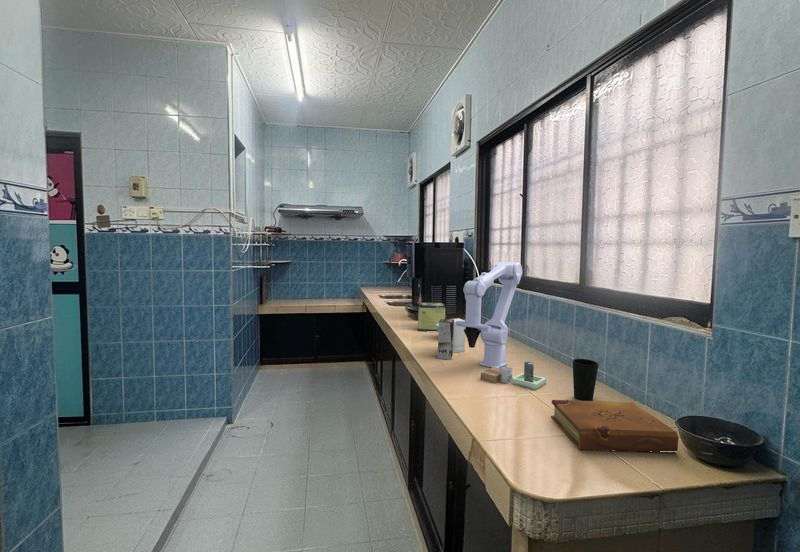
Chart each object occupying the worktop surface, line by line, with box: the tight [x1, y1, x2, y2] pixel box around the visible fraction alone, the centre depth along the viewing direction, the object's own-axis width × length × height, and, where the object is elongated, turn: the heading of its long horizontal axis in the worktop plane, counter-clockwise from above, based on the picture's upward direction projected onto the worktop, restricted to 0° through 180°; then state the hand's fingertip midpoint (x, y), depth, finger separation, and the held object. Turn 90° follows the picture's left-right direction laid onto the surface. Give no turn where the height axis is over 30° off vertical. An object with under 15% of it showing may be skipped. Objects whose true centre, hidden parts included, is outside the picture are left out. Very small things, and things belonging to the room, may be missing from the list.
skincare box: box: [451, 317, 466, 353], centre depth 182 cm, size 8×6×15 cm
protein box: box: [417, 302, 446, 332], centre depth 229 cm, size 10×16×16 cm
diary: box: [550, 399, 679, 452], centre depth 101 cm, size 23×19×6 cm
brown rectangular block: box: [480, 367, 500, 384], centre depth 144 cm, size 9×6×3 cm, turn 136°
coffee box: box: [437, 318, 454, 361], centre depth 171 cm, size 9×6×16 cm
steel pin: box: [523, 361, 535, 383], centre depth 139 cm, size 3×3×7 cm
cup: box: [572, 358, 599, 401], centre depth 126 cm, size 8×8×12 cm
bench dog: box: [498, 365, 513, 385], centre depth 140 cm, size 4×3×5 cm
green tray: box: [510, 372, 547, 391], centre depth 139 cm, size 9×9×2 cm
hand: (471, 347), depth 150 cm, fingers closed
